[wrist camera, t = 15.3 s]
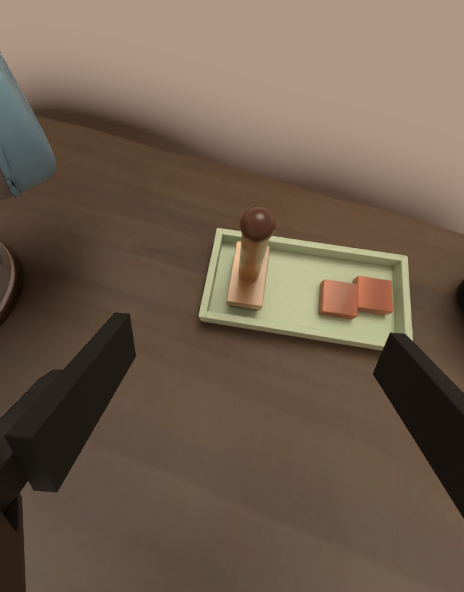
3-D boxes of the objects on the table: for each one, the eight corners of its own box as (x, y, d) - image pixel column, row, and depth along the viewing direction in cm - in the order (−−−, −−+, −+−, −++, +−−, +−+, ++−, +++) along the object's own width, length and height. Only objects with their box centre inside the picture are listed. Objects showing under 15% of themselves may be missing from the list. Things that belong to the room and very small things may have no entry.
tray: (200, 321, 30) (198, 316, 28) (217, 237, 34) (217, 227, 32) (399, 353, 29) (413, 351, 27) (395, 264, 33) (407, 255, 31)
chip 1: (318, 314, 30) (322, 311, 29) (319, 283, 31) (324, 278, 30) (351, 319, 30) (357, 316, 29) (352, 288, 31) (358, 284, 30)
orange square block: (351, 310, 30) (357, 307, 29) (352, 279, 32) (358, 275, 30) (385, 315, 30) (393, 312, 29) (384, 284, 32) (392, 280, 30)
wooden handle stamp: (226, 307, 30) (224, 256, 18) (236, 252, 33) (240, 171, 20) (259, 313, 30) (281, 264, 18) (266, 256, 33) (290, 177, 20)
